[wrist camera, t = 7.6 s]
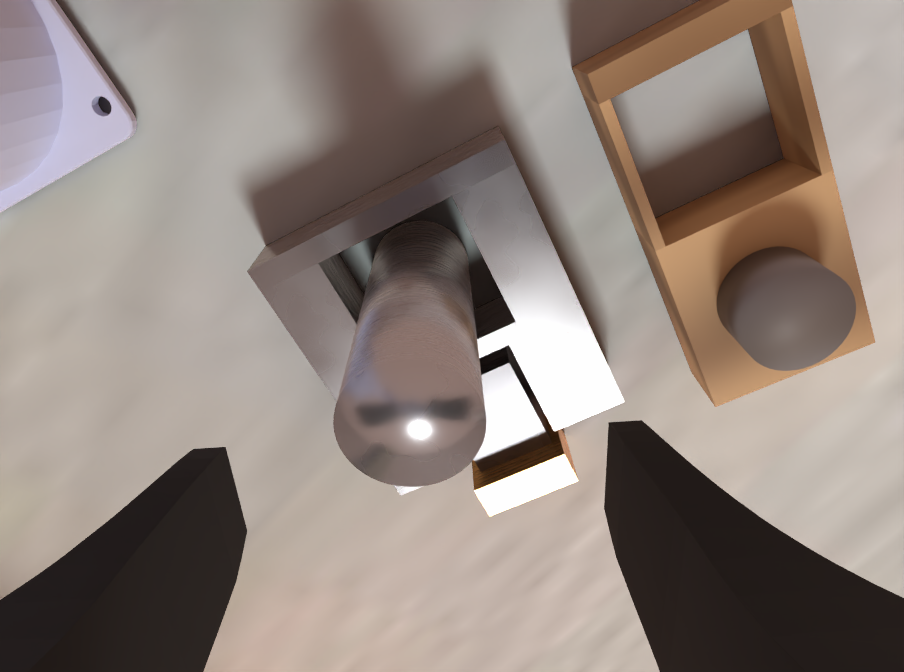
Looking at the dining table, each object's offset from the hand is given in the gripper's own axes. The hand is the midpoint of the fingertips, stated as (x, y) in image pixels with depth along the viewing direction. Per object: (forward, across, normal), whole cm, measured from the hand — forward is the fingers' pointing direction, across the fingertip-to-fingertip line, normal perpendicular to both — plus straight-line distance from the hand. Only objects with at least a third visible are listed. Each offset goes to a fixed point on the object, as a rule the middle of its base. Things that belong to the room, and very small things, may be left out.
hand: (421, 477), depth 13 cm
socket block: (+10, 0, +1) cm, 10 cm away
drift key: (+10, -2, +4) cm, 11 cm away
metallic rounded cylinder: (+10, 0, -1) cm, 10 cm away
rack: (+10, -9, -2) cm, 13 cm away
